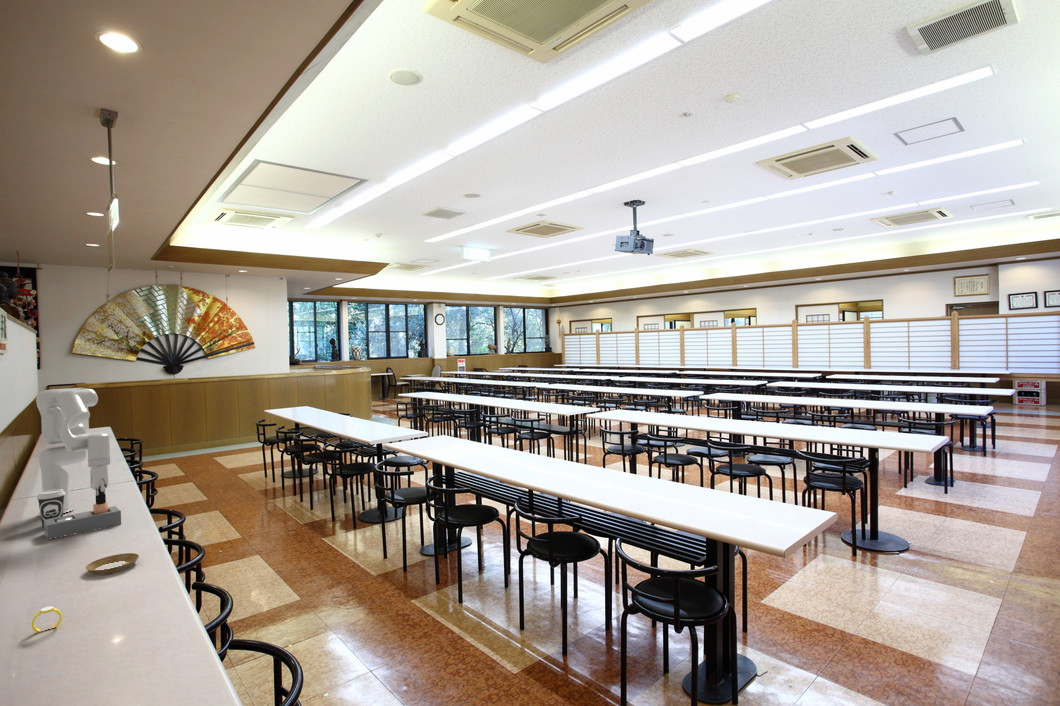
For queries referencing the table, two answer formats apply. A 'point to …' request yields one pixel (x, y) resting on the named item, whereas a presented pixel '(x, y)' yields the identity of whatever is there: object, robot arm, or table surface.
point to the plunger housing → (81, 522)
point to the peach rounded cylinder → (100, 508)
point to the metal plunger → (64, 519)
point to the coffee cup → (51, 504)
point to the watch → (46, 610)
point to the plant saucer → (126, 557)
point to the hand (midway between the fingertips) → (100, 503)
